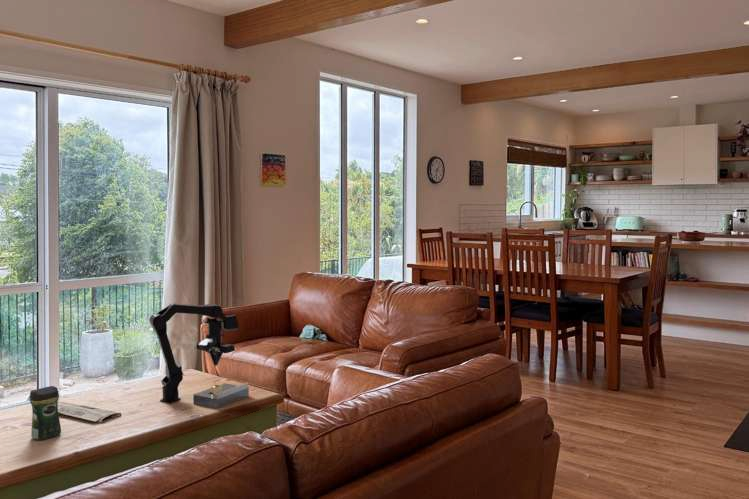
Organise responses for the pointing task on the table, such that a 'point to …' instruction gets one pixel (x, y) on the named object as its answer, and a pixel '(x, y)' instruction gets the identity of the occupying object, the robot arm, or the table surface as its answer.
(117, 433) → the table surface
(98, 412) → the newspaper
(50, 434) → the coffee jar
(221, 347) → the robot arm
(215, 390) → the bushing
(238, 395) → the block
